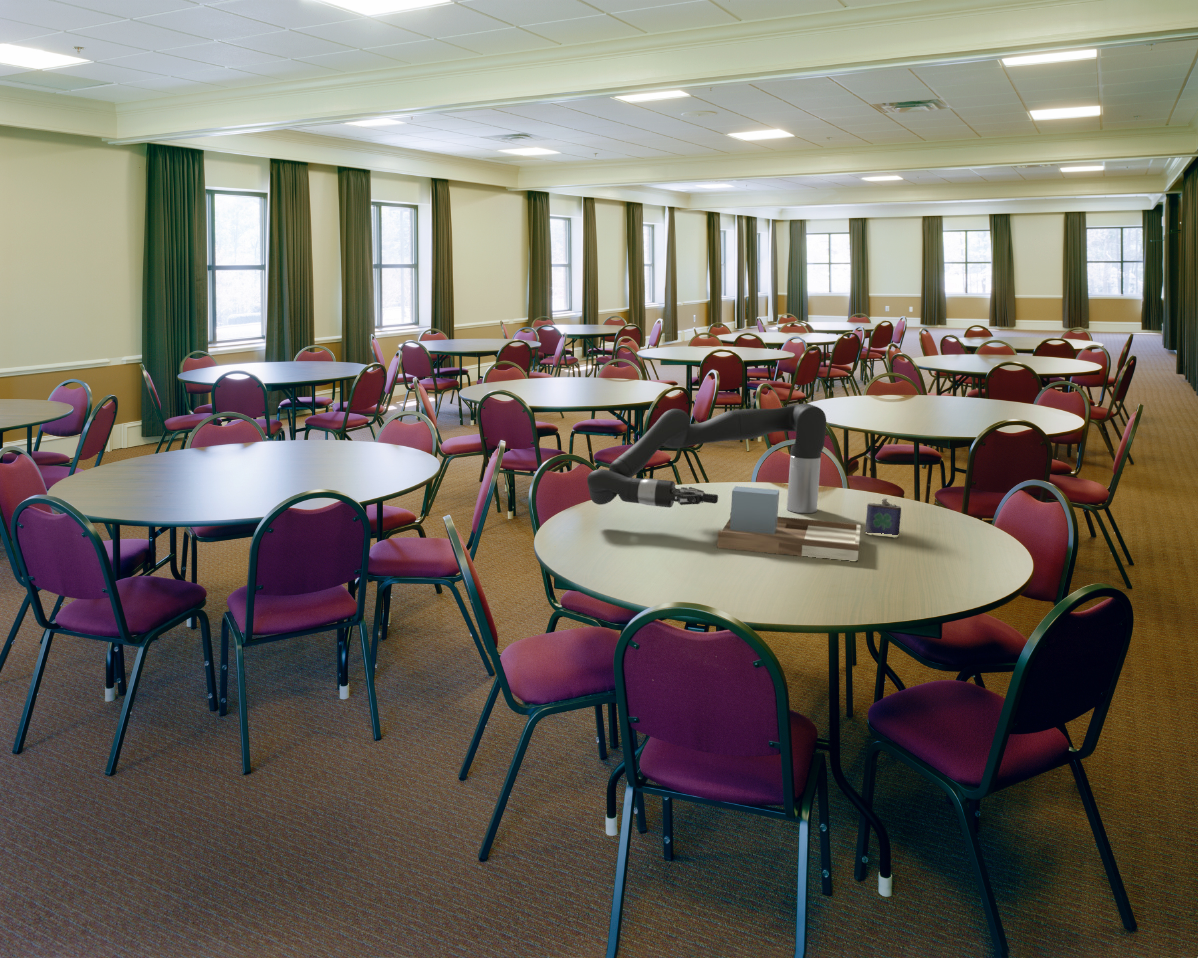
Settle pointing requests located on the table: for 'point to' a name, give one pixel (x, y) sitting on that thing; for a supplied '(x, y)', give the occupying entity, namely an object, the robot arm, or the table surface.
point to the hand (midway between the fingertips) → (717, 499)
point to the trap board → (798, 539)
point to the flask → (883, 518)
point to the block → (754, 510)
